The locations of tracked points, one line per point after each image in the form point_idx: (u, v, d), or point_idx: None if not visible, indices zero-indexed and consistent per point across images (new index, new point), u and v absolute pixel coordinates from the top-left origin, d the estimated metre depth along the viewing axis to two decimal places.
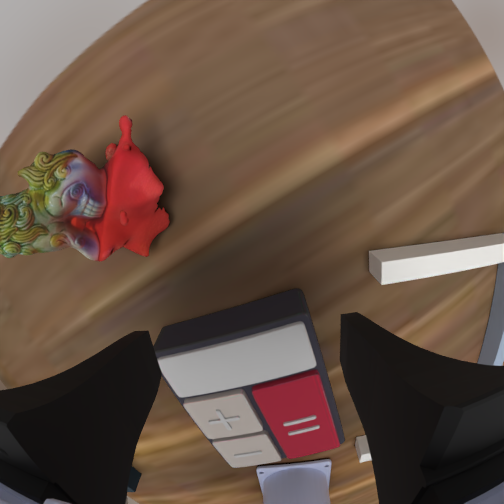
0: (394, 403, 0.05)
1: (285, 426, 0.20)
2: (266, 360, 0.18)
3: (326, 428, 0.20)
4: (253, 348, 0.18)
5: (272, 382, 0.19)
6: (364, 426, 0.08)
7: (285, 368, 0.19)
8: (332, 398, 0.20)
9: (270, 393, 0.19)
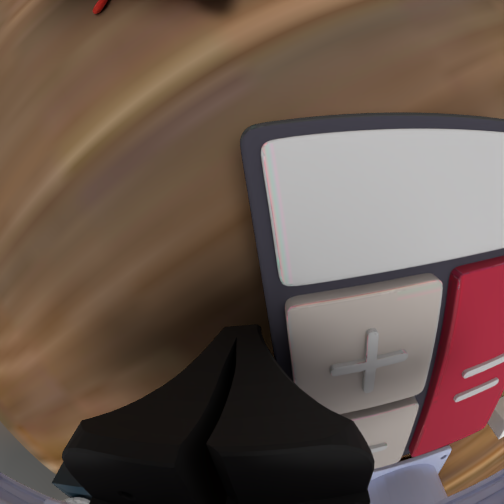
0: None
1: (461, 380, 0.09)
2: (497, 198, 0.07)
3: (498, 387, 0.09)
4: (490, 157, 0.06)
5: (487, 261, 0.08)
6: None
7: None
8: None
9: (484, 286, 0.07)
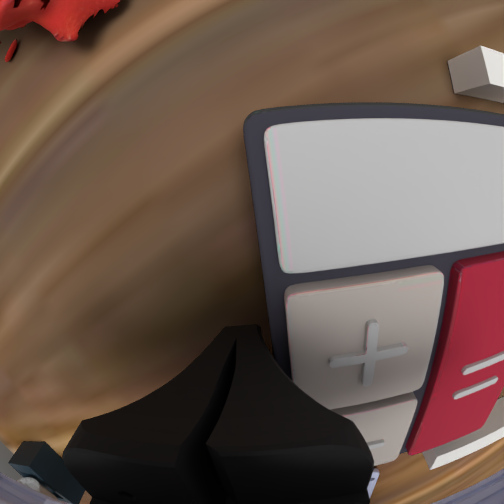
0: None
1: (460, 376, 0.09)
2: (499, 192, 0.07)
3: (497, 385, 0.09)
4: (493, 150, 0.06)
5: (488, 256, 0.08)
6: None
7: None
8: None
9: (485, 280, 0.07)
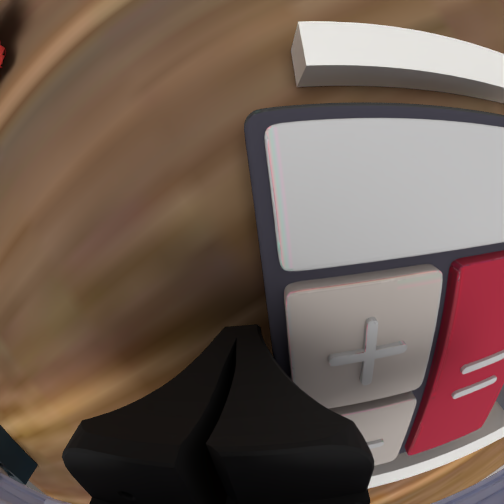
0: None
1: (459, 376, 0.09)
2: (497, 192, 0.07)
3: (496, 385, 0.09)
4: (490, 150, 0.06)
5: (487, 255, 0.08)
6: None
7: None
8: None
9: (484, 279, 0.07)
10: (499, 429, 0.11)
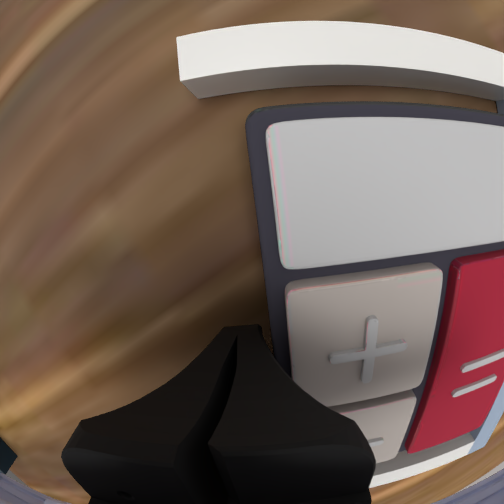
0: None
1: (459, 374, 0.09)
2: (497, 191, 0.07)
3: (496, 384, 0.09)
4: (491, 149, 0.06)
5: (487, 254, 0.08)
6: None
7: None
8: None
9: (484, 278, 0.07)
10: (458, 448, 0.11)
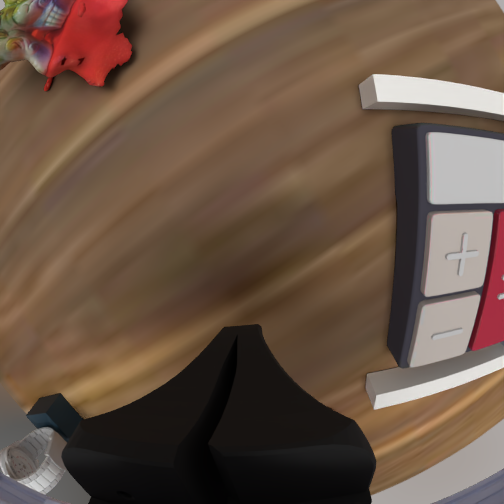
0: None
1: (501, 282, 0.14)
2: None
3: None
4: None
5: None
6: None
7: None
8: None
9: None
10: (500, 357, 0.17)
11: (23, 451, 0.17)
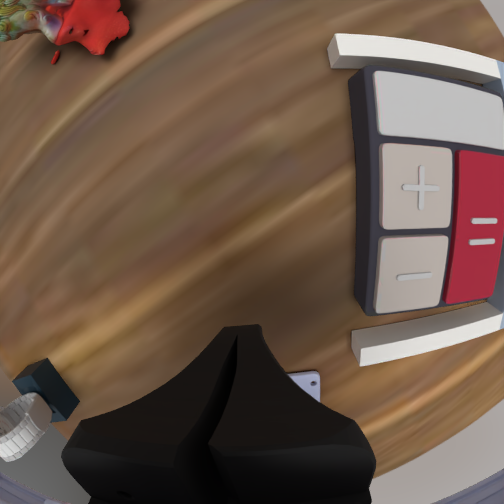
0: None
1: (470, 226, 0.15)
2: (475, 119, 0.13)
3: (496, 250, 0.15)
4: (470, 98, 0.13)
5: None
6: None
7: (486, 137, 0.14)
8: None
9: (473, 161, 0.14)
10: (493, 317, 0.18)
11: (5, 417, 0.18)
